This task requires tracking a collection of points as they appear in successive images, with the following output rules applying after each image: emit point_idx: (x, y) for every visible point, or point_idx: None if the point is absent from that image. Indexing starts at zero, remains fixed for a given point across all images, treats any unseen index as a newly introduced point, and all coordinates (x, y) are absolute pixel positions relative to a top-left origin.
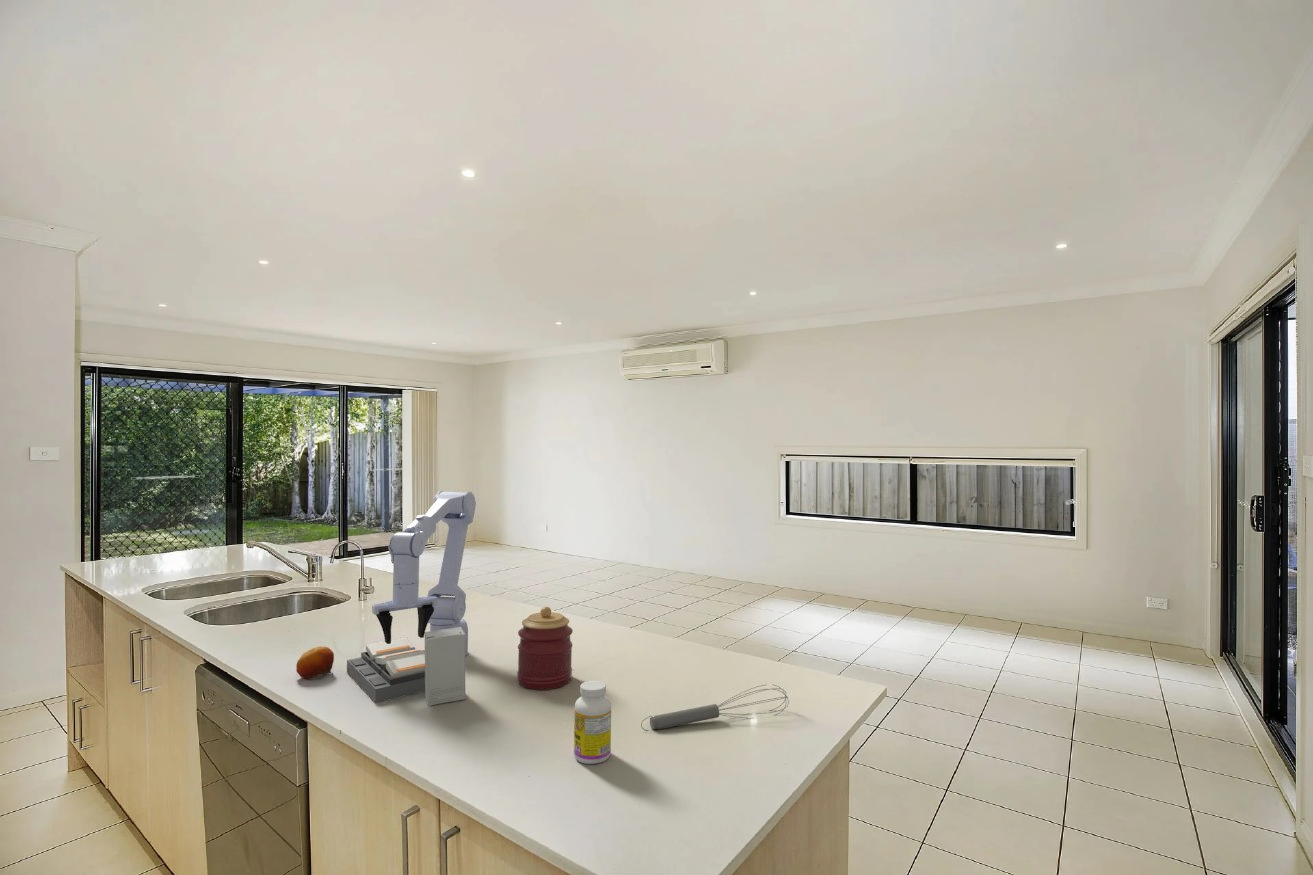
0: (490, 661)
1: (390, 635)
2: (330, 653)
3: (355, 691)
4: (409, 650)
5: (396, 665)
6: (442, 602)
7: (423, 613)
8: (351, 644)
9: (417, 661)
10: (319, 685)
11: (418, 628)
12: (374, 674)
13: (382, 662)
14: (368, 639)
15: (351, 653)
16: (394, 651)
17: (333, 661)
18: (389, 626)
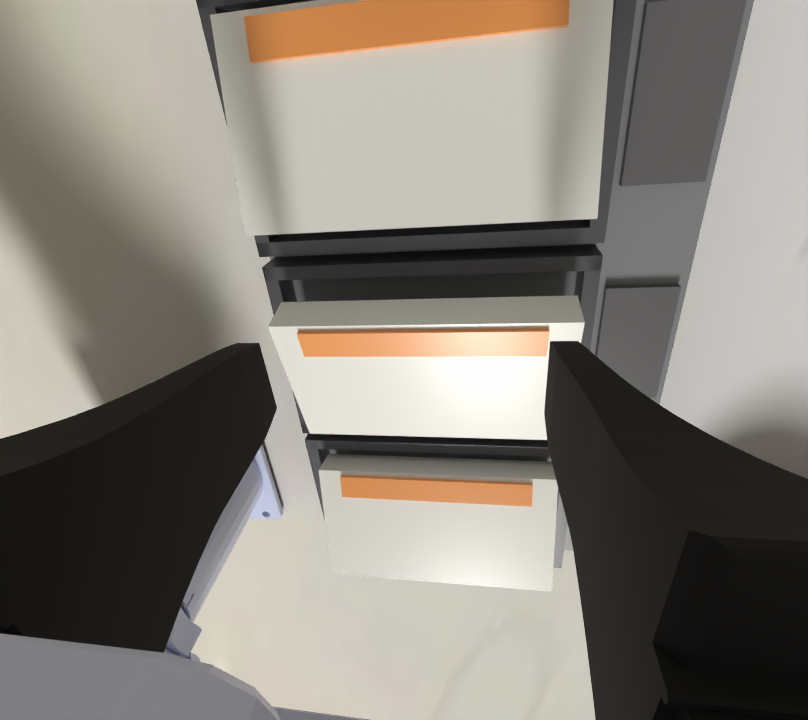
0: (3, 276)
1: (578, 371)
2: None
3: (702, 251)
4: (349, 462)
5: (539, 116)
6: None
7: (46, 510)
8: (486, 696)
9: (359, 125)
10: (786, 433)
11: (246, 454)
12: (615, 276)
13: (577, 303)
14: (427, 701)
15: (515, 643)
16: (431, 471)
17: None
18: (641, 433)
